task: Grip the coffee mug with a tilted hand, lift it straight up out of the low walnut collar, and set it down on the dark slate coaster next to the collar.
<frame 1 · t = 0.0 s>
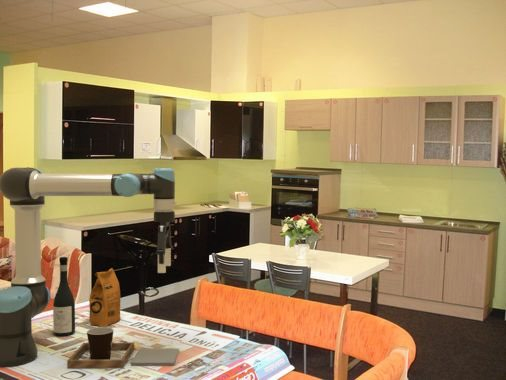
hand: (164, 269, 196), 28 cm above the table, tool pointing down, fingers open, 13 cm apart
coffee package: (104, 323, 226), on the table
wine bottle: (64, 334, 211), on the table
walnut collar: (102, 358, 183), on the table
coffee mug: (102, 359, 183), resting in walnut collar
slate coaster: (155, 358, 183), on the table
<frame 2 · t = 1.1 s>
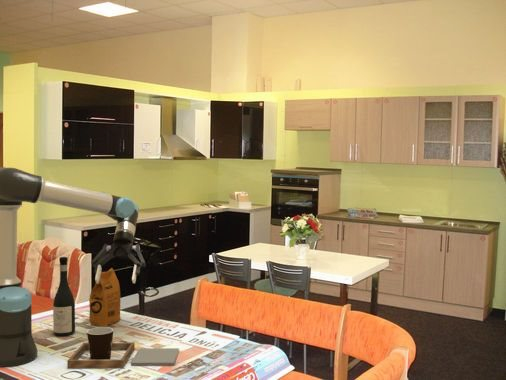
hand: (115, 281, 199), 23 cm above the table, tool tilted 45°, fingers open, 13 cm apart
nothing on the table moved.
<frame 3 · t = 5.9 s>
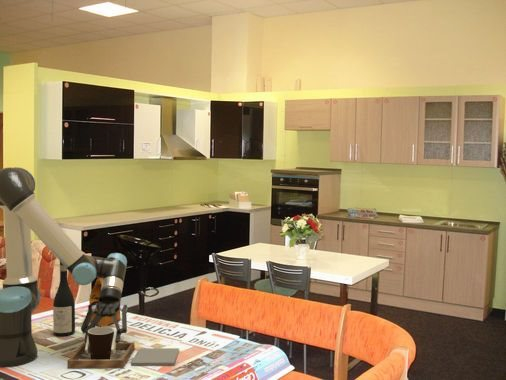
hand: (99, 351, 180), 4 cm above the table, tool tilted 45°, fingers closed on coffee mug, 8 cm apart
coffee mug: (102, 358, 183), resting in walnut collar, touching gripper
everything else where it was.
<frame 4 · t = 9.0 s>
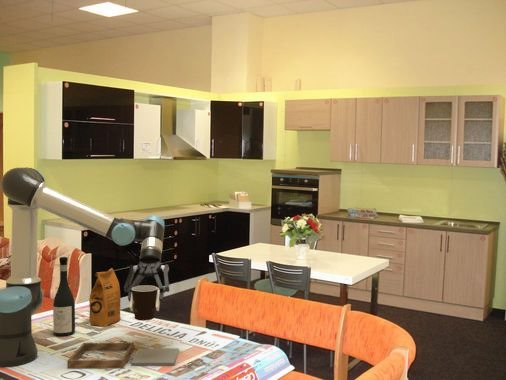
hand: (144, 308, 180), 18 cm above the table, tool tilted 45°, fingers closed on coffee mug, 8 cm apart
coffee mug: (146, 317, 183), point 14 cm above the table, touching gripper
everything else where it was.
when the fingers open (6 cm above the table, at t = 12.4 s): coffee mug drops 1 cm, resting on slate coaster.
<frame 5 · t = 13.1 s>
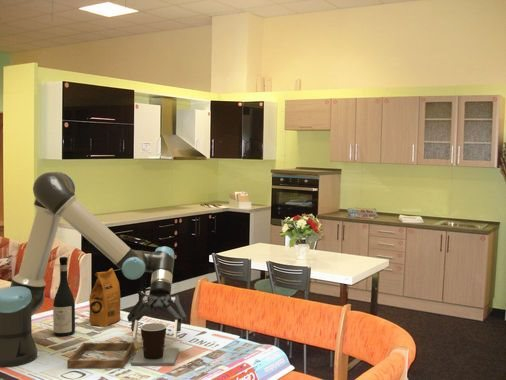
hand: (154, 339, 181), 7 cm above the table, tool tilted 45°, fingers open, 13 cm apart
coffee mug: (155, 355, 184), point 1 cm above the table, touching slate coaster
everything else where it was.
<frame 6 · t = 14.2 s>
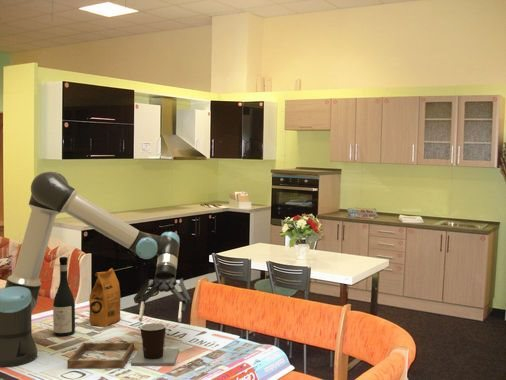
hand: (159, 320, 188), 12 cm above the table, tool tilted 45°, fingers open, 13 cm apart
nothing on the table moved.
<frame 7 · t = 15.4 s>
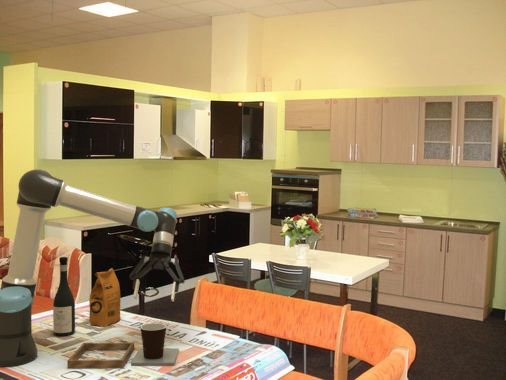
hand: (153, 298, 196), 17 cm above the table, tool tilted 35°, fingers open, 13 cm apart
nothing on the table moved.
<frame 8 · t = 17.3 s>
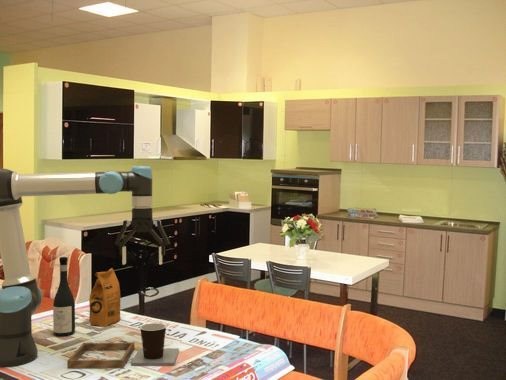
hand: (142, 264, 202), 29 cm above the table, tool pointing down, fingers open, 13 cm apart
nothing on the table moved.
at the end: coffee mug inside the target area on the slate coaster (0.7 cm from its centre), point 0.8 cm above the slate coaster's base; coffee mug tilted 0°; the gripper is holding nothing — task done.
